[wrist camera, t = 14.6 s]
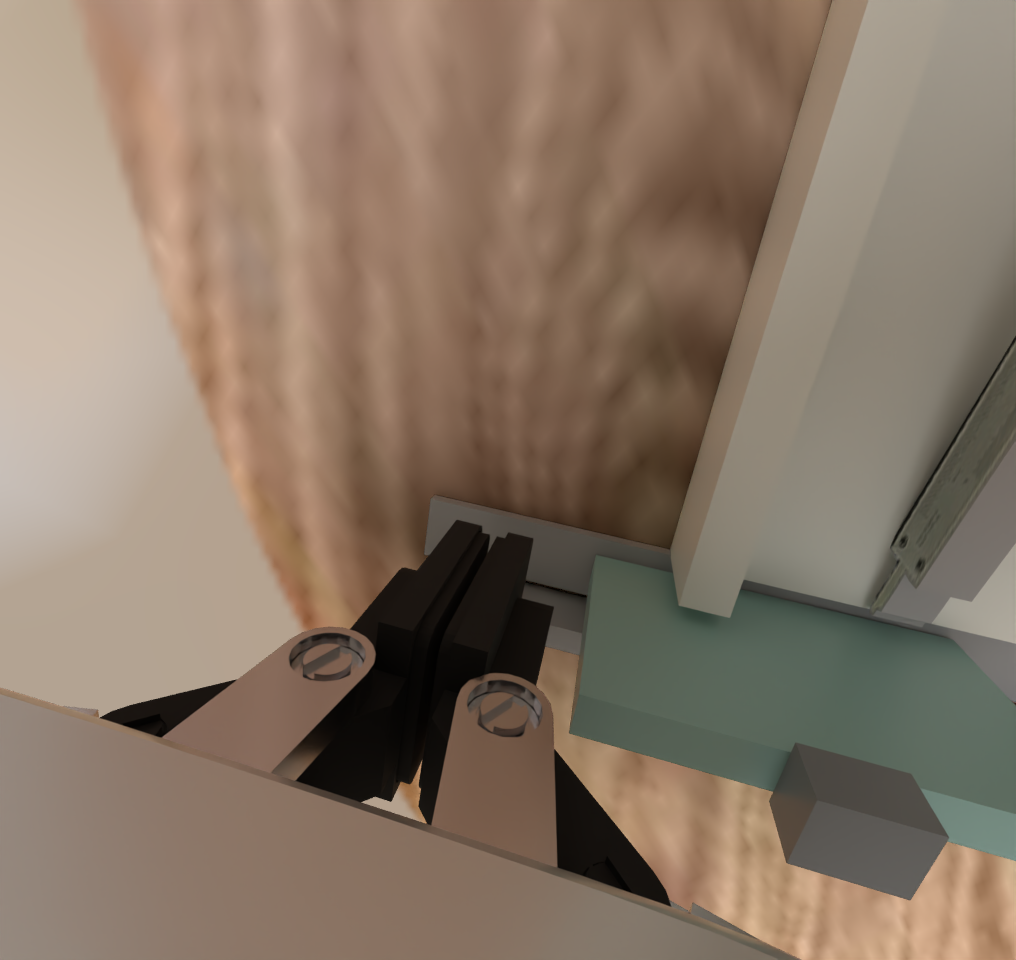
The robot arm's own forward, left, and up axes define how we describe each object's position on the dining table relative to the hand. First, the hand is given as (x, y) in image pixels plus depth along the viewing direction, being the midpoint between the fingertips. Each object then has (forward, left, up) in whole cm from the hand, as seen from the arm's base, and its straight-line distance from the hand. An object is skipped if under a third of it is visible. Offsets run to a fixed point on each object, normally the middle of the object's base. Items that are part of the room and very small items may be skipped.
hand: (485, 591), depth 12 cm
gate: (-6, 0, -2) cm, 7 cm away
